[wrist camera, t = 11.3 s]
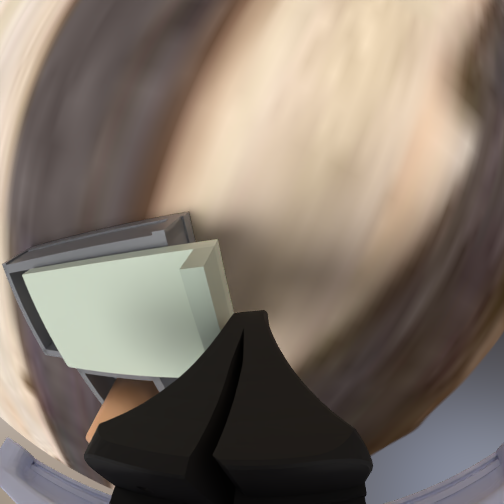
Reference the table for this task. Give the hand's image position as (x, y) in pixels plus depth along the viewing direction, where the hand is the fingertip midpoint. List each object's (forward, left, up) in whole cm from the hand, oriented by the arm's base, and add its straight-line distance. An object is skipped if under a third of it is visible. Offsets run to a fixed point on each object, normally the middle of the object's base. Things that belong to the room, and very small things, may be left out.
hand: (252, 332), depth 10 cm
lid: (0, +7, -2) cm, 7 cm away
